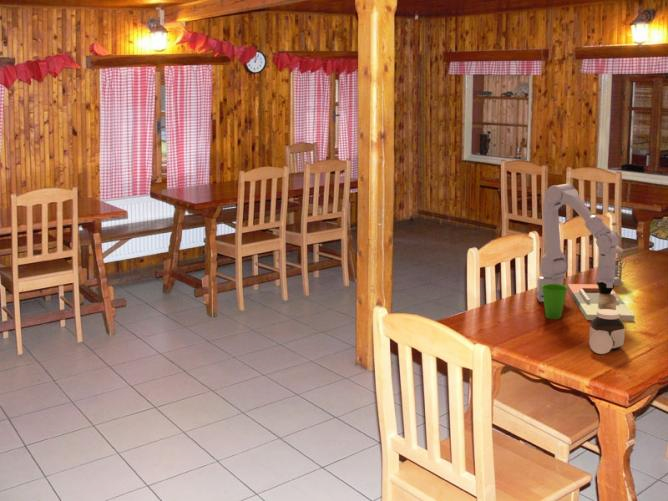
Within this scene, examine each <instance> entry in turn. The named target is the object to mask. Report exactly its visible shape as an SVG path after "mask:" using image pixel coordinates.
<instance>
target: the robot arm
mask: <svg viewBox="0 0 668 501" xmlns="http://www.w3.org/2000/svg"><path fill="white" fill-rule="evenodd" d="M544 196H545V197H544V200H543V202H542V217H543V220H542V221H543V231H544V232H543V233H544V244H545V245H544V246H545V247H544V248H545V252H544V253H543V255H542V257H541V263H540V266H539V271H540V274H541V276H538V277H537V279H536V280H537V282H536V283H537V284H536V297H537V300H538V302H541V303H544V298H543V289H542V288H541V286H542V285H545V284H561V285H564V276H565V273H566V272H568V268H569V266H568V262H567V260H566V254H564V252H563V251H561V248H562V247H561V236H560V235H561V234H560V221H559V209H560V208H561V207H562V206H563V205H564V206H565V205H566V206H570V207H571V208H572V209H573V210H574V211H575V212H576V213H577V214H578V215H579V216H580V217H581V218H582V219H583V220H584V226H585V228H586V229H587V230H588V232H589V233H590V234H591V235H592V236H593V237H594V238H595V245H596V246H597V248H598V261H597V262H598V266H597V268H598V269H597V276H596V280H597V282H596V284H597V285H598V288H599V291H600V294H611V291H612V290H614V288H615V287H616V285H614V283H613V282H614V281H615V280H618V278H619V277H618V278H617V277H614V276H615V259H616V258H617V256H616V255H617V253H616V246H619V245H620V242H621V239H620V235H619V233H618V232H616V231H615V230H612V229H611V228H610V227H608V225H607V224H606V223H605V222H604V221H603V218H602V217H601V216H599V215H594V214H593V213H592V211H591V210H590V209H589V208H588V206H587V205H586V204H585V202H584V200H583V199H582V198H581V197H580V195H579V192H578V190H577V189H576V188H575V187H574V185H572V184H571V183H567V182H566V183H564V184H558V185H550V187H548V188H547V189H546V190H545V191H544ZM598 281H601V282H598ZM565 301H566V299H565V300H564V303H565Z"/></svg>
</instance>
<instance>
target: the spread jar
mask: <svg viewBox="0 0 668 501" xmlns="http://www.w3.org/2000/svg"><path fill="white" fill-rule="evenodd" d="M619 317H620V312H618V311H616V310H611V309H600V310H598V311H597V317H595V318H594V319H593V320H591V321H590V325H589V342H588V344H589V346H590V347H589V348H590V349H591V350H592V351H593V352H594V353H596V354H598V355H605V354H607V353H609V352H615V351H617V350H619V349H621V347H622V346H623V345H624V342H625V333H626V331H625V330H626V328H625V324H624V321H621V320H620V319H619Z"/></svg>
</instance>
